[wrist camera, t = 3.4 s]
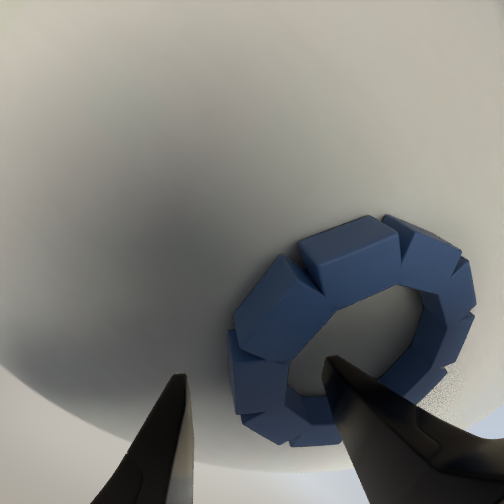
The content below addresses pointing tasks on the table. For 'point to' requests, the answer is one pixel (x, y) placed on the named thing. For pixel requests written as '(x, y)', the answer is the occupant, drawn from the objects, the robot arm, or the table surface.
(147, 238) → the table surface
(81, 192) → the table surface
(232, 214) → the table surface
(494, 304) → the table surface
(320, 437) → the ring
